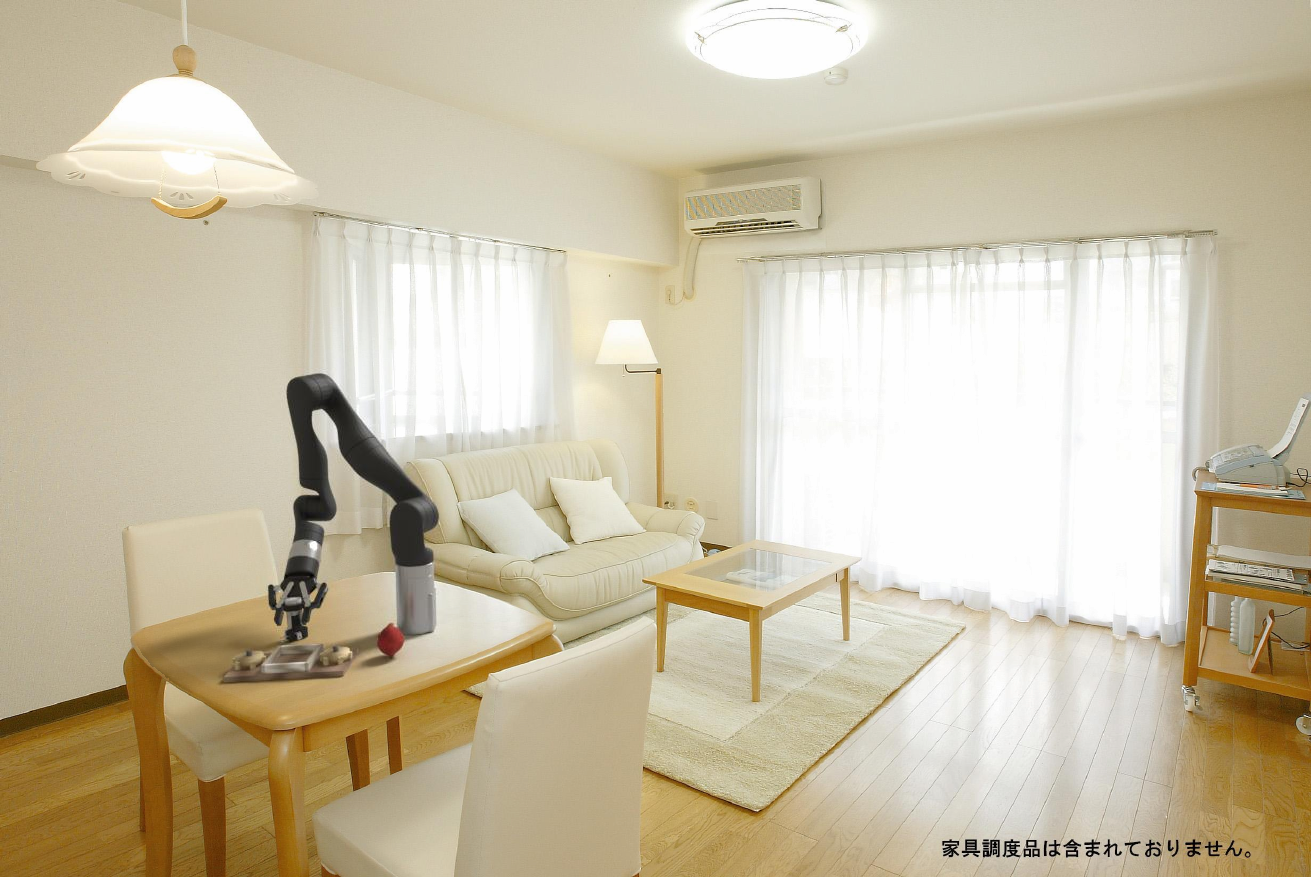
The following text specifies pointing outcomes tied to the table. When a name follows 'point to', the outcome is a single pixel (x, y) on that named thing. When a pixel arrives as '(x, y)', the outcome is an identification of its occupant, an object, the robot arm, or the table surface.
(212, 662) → the table surface
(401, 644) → the onion
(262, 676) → the gear board
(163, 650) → the table surface
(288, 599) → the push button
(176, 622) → the table surface
